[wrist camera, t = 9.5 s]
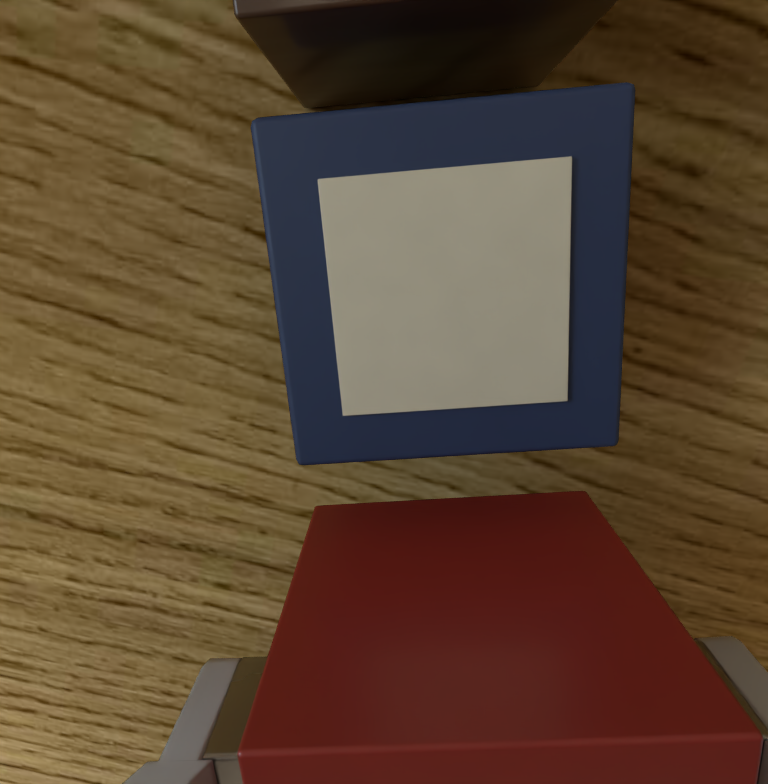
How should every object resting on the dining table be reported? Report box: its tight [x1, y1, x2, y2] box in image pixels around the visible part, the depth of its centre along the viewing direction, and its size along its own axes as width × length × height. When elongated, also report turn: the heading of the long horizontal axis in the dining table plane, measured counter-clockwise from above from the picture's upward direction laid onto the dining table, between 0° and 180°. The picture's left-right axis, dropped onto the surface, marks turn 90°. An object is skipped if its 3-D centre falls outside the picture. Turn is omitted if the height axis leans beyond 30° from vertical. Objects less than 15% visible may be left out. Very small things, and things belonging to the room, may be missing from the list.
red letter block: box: [237, 491, 763, 784], centre depth 7 cm, size 4×4×5 cm
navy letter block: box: [251, 82, 635, 465], centre depth 9 cm, size 4×4×5 cm
